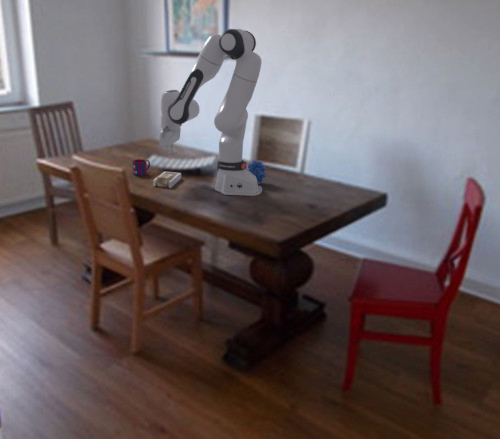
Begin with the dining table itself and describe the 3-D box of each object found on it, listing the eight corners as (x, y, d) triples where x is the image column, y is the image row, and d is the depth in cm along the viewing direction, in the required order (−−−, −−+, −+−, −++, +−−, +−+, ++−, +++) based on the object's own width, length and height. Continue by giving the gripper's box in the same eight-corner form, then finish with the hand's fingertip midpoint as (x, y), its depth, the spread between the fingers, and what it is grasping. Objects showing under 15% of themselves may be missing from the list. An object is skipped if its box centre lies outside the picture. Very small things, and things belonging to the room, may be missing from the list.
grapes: (251, 187, 265) (252, 163, 261) (243, 184, 270) (244, 160, 266) (270, 184, 272) (271, 160, 268) (261, 181, 277) (263, 157, 273)
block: (172, 183, 267) (172, 174, 266) (167, 187, 261) (167, 178, 259) (163, 182, 268) (163, 173, 267) (157, 186, 262) (157, 177, 261)
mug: (130, 173, 280) (130, 160, 277) (146, 170, 286) (146, 157, 284) (138, 176, 275) (137, 163, 273) (154, 173, 282) (154, 160, 280)
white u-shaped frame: (181, 178, 275) (181, 173, 274) (170, 187, 260) (170, 181, 259) (164, 177, 276) (164, 171, 275) (153, 186, 261) (153, 180, 260)
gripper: (169, 129, 253) (168, 158, 258) (182, 121, 272) (182, 149, 277) (156, 127, 254) (155, 157, 259) (170, 120, 273) (170, 147, 278)
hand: (169, 152), depth 268 cm, fingers closed
